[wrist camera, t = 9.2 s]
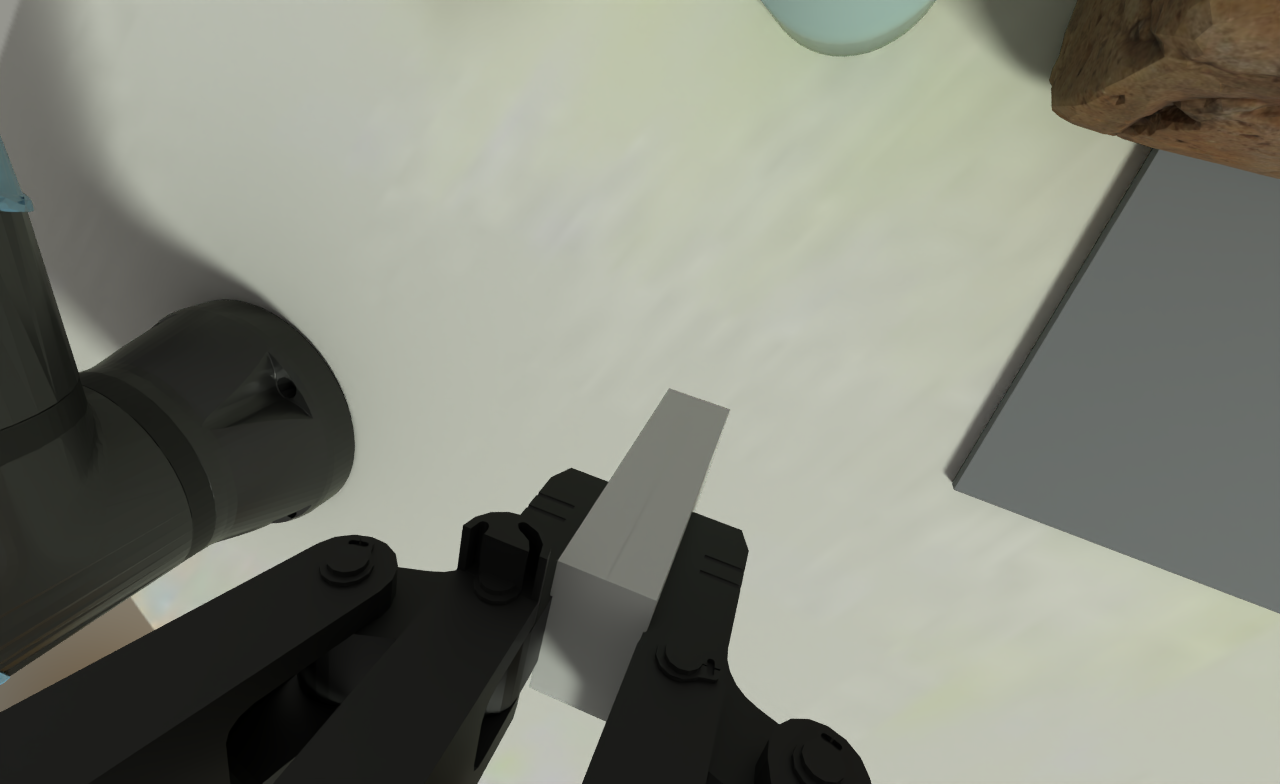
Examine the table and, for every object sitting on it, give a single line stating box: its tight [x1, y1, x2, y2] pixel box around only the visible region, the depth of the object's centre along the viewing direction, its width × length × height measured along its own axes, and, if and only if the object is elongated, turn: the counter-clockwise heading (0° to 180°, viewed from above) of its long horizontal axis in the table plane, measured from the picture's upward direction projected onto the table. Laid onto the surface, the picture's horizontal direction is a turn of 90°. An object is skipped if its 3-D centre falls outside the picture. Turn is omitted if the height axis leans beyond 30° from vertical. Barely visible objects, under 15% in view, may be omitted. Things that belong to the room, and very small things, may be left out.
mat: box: [952, 148, 1280, 613], centre depth 24 cm, size 17×16×1 cm
